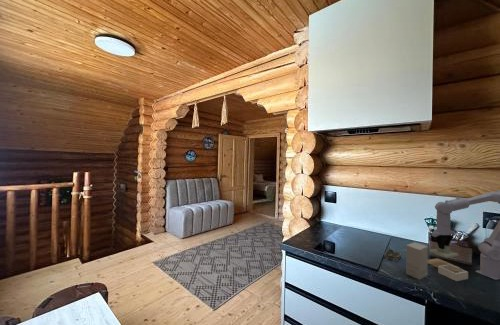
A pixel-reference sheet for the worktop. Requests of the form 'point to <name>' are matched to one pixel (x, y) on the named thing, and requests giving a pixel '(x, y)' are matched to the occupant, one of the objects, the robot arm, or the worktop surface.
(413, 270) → the skincare box
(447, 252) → the lid
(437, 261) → the cork mat
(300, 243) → the worktop surface
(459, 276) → the box
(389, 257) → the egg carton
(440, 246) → the robot arm
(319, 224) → the worktop surface
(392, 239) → the worktop surface
